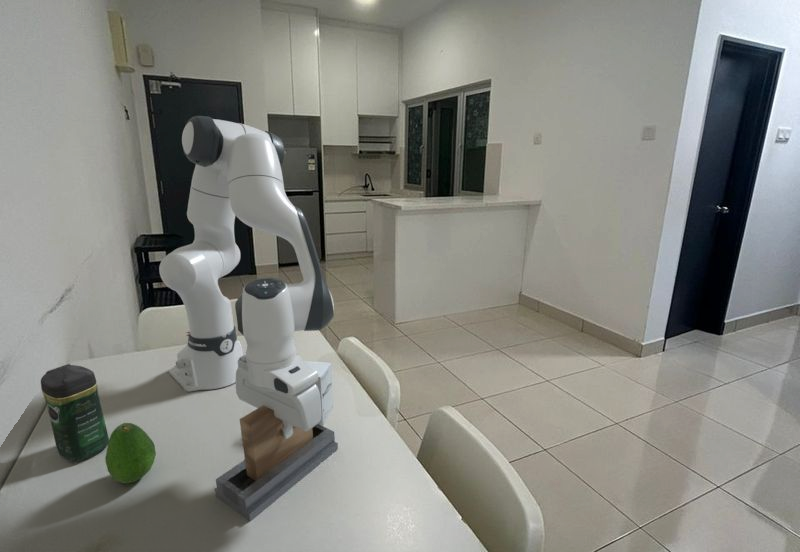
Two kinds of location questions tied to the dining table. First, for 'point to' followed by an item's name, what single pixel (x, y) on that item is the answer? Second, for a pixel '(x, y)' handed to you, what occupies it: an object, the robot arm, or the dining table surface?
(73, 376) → the coffee jar
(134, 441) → the avocado
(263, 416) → the door panel
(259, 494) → the tray
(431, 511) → the dining table surface
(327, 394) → the supplement box
